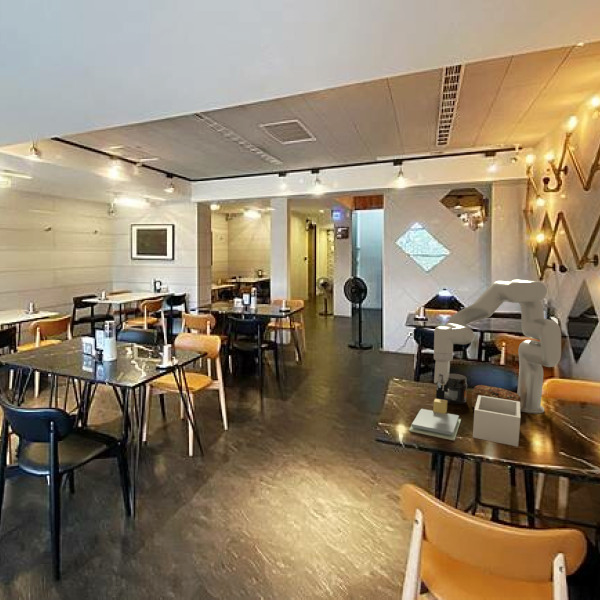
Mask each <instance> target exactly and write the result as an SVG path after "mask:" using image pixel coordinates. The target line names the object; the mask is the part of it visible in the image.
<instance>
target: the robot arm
mask: <svg viewBox="0 0 600 600" xmlns="http://www.w3.org/2000/svg"><path fill="white" fill-rule="evenodd" d="M547 293H548V289H547V287H546V285H545V284H544V283H543V282H541V281H537V280H527V279H512V280H511V281H506V280H496V281H494V282H492V283H491V285H489V286H488V288H486V289H485V291H484V292H483V293H482V294H481V295H480V296H479V297H478V298H477V299H476V300H475V301H474V303H471V305H468V306H466V307H465V308H463V309H461V310H459V311H457V312H455V314H454V315H452V316H451V318H449V319H448V320H447V322H446V323H445V324H444V325H440V326H436V327H435V329H434V336H433V338H434V339H433V360H435V365H434V376H433V377H434V379H433V383H434V384H436V391H435V393H436V395H435V399H441V400H444V396H445V392H448V379H449V374H450V367H451V362H453V358H454V357H453V356H454V355H453V354H454V345H468V344H471V343H472V342H473V340H474V338H475V333H474V331H473V329H471V328H470V327H469V326H468V327H467V325H469V324H470V323H473V322H475V321H479V320H484V319H488V318H490V317H491V316H492V315H493V314H494V313H495V312H496V311H497V310H498V308H499V307H501V306H502V304H503V303H505V302H507V303H512V304H513V303H514V304H518V303H519V305H520V306H519V307H520V312H521V316H520V317H521V333H522V334H523V335H524V337H527V338H530V339H525V340H523V341H522V342H520V344H519V346H518V351H517V354H518V363H519V365H518V366H519V371H518V381H517V382H518V383H517V392H516V393H517V394H518V395H519V396H520V397H521V401H520V412H523V413H526V414H535V415H536V414H543V413H544V412H545V408H544V407H543V406H542V404H541V403H542V395H543V394H542V393H543V381H544V368H543V366H544V367H548V368H551V367H552V368H553V367H556V366H557V365H558V364H559V362H560V360H561V357H562V331H561V328H560V325H559V324H558V323H557V322H556V321H555V320H552V319H547V318H545V315H544V306H543V305H544V304H543V302H542V300H544V298H546V296H547Z"/></svg>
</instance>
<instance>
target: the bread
mask: <svg viewBox="0 0 600 600" xmlns="http://www.w3.org/2000/svg"><path fill="white" fill-rule="evenodd" d="M472 389H473V390H472V393H471V407H472V408H474V409H475V406H476V402H477V398H478V395H481V396H487V397H493V398H500V399H506V400H512V401H519V402H520V401H521V397H520V396H519V395H518V394H517V392H513V391H511V390H507V389H505V388H502V387H501V388H500V387H497V386H487V385H484V384H478V385H475V386H474V387H473V388H472Z"/></svg>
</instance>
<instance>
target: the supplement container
mask: <svg viewBox="0 0 600 600" xmlns="http://www.w3.org/2000/svg"><path fill="white" fill-rule="evenodd" d="M467 388H468V384H467V377H466V376H465V375H463V374H460V373H459V374H458V373H449V379H448V392H445V396H444V400H447V404H448V403H449V404H454V405H462V404H465V403H466V402H467V390H468V389H467Z"/></svg>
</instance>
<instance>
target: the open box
mask: <svg viewBox="0 0 600 600" xmlns="http://www.w3.org/2000/svg"><path fill="white" fill-rule="evenodd" d="M520 427H521V411H520V402H519V401H512V400H506V399H500V398H493V397H487V396H481V395H478V398H477V402H476V406H475V408H474V412H473V427H472V438H473V439H480V440H484V441H489V442H494V443H499V444H503V445H509V446H513V447H519V442H520V430H521V429H520Z"/></svg>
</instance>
